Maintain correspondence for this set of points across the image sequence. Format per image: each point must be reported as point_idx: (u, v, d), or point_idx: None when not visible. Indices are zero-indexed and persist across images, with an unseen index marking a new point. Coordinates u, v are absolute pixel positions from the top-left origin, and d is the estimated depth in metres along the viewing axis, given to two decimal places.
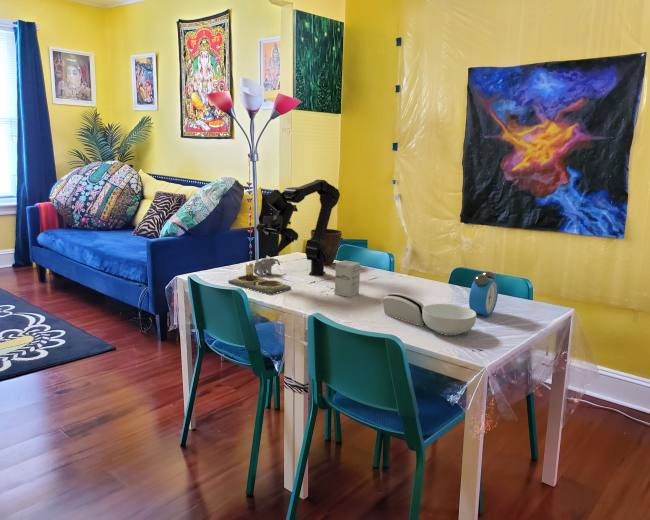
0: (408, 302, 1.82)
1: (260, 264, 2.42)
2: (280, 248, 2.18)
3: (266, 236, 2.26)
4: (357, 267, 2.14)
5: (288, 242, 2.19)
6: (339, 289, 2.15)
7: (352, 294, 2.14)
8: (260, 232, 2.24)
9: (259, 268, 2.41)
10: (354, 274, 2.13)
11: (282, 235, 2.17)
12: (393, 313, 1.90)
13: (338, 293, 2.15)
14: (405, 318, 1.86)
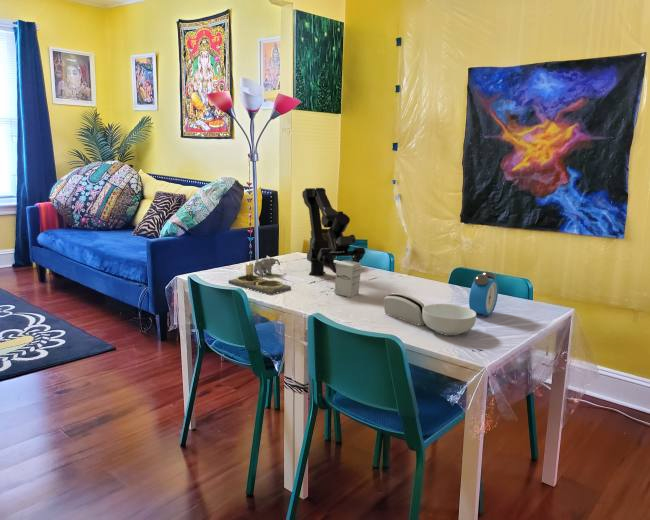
0: (409, 302, 1.82)
1: (260, 264, 2.42)
2: None
3: None
4: (357, 267, 2.14)
5: None
6: (339, 289, 2.14)
7: (352, 294, 2.14)
8: (330, 256, 2.15)
9: (259, 268, 2.41)
10: (354, 274, 2.13)
11: (358, 254, 2.19)
12: (393, 313, 1.90)
13: (338, 293, 2.15)
14: (405, 318, 1.87)
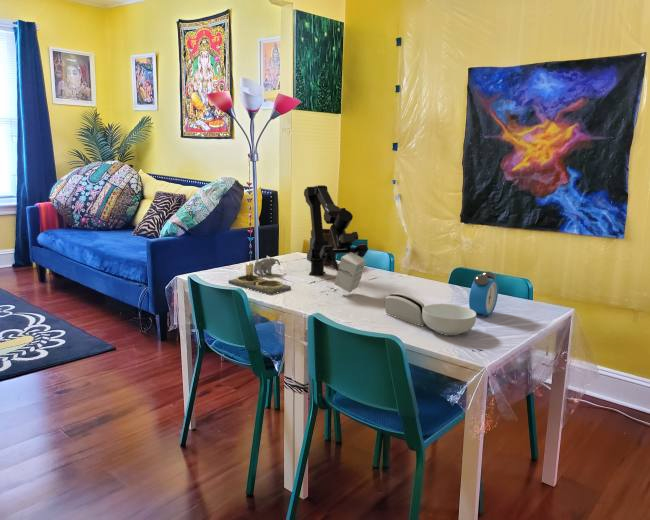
0: (409, 302, 1.82)
1: (260, 264, 2.42)
2: None
3: None
4: (361, 265, 2.11)
5: None
6: (340, 282, 2.14)
7: (351, 289, 2.14)
8: (332, 253, 2.13)
9: (259, 268, 2.41)
10: (357, 271, 2.10)
11: (361, 251, 2.17)
12: (394, 313, 1.90)
13: (338, 285, 2.15)
14: (406, 318, 1.87)
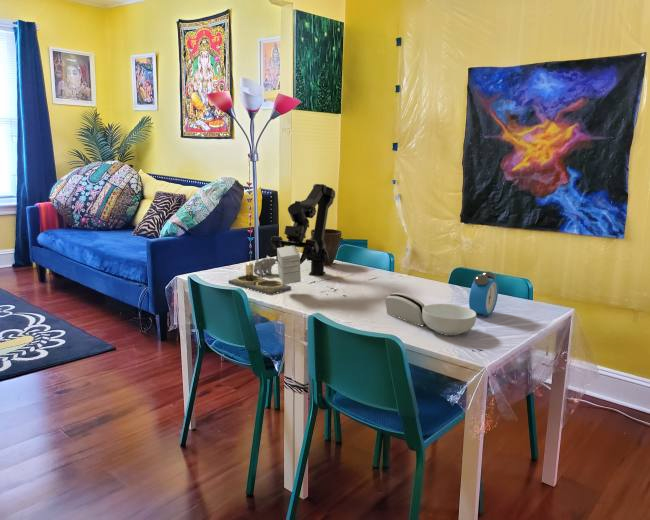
0: (409, 302, 1.82)
1: (260, 264, 2.42)
2: (302, 259, 2.13)
3: None
4: (292, 258, 2.08)
5: (309, 254, 2.15)
6: (279, 273, 2.15)
7: (286, 282, 2.13)
8: (276, 244, 2.16)
9: (259, 268, 2.41)
10: (287, 264, 2.09)
11: (306, 246, 2.13)
12: (395, 313, 1.90)
13: (279, 276, 2.17)
14: (406, 318, 1.86)
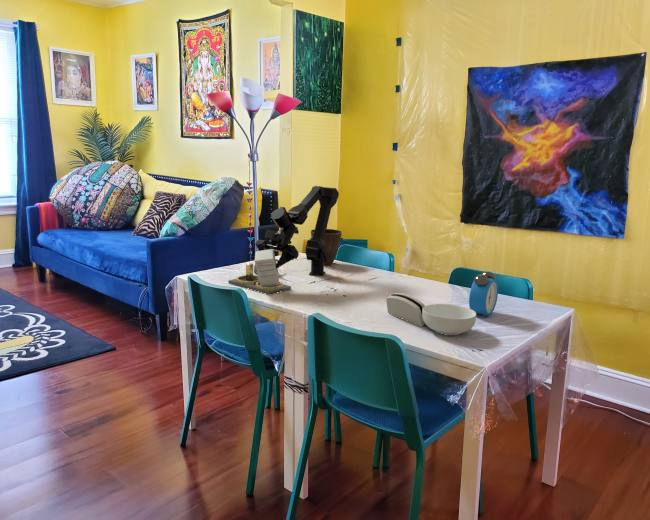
0: (409, 302, 1.82)
1: None
2: (279, 264, 2.16)
3: None
4: (266, 262, 2.12)
5: (288, 259, 2.18)
6: None
7: (264, 285, 2.18)
8: (259, 247, 2.22)
9: None
10: (262, 268, 2.13)
11: (283, 251, 2.15)
12: (396, 313, 1.90)
13: None
14: (407, 318, 1.86)
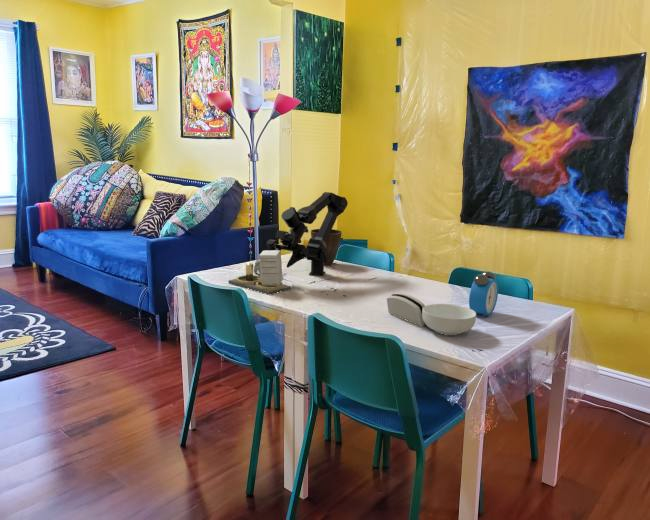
0: (409, 302, 1.82)
1: None
2: (290, 263, 2.22)
3: None
4: (269, 258, 2.15)
5: (298, 258, 2.24)
6: None
7: (265, 283, 2.18)
8: (271, 247, 2.28)
9: (259, 268, 2.41)
10: (265, 264, 2.16)
11: (294, 250, 2.21)
12: (396, 313, 1.90)
13: None
14: (407, 318, 1.86)
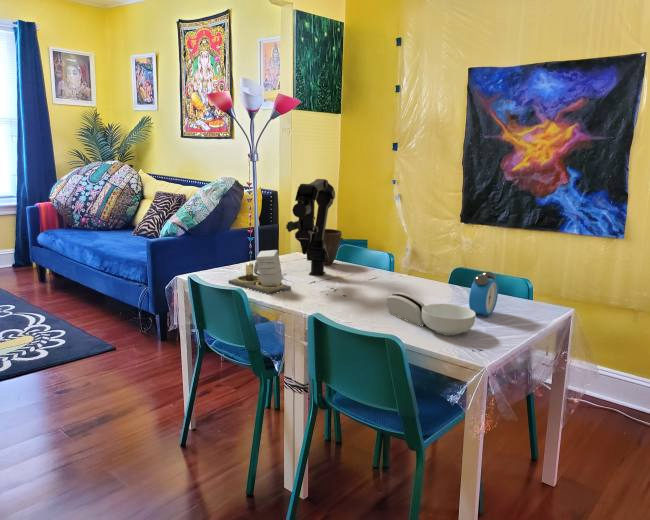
0: (409, 302, 1.83)
1: None
2: (303, 250, 2.25)
3: (311, 235, 2.34)
4: (267, 260, 2.15)
5: (307, 241, 2.23)
6: None
7: (265, 284, 2.18)
8: None
9: None
10: (263, 265, 2.16)
11: None
12: (396, 312, 1.91)
13: None
14: (407, 318, 1.87)
